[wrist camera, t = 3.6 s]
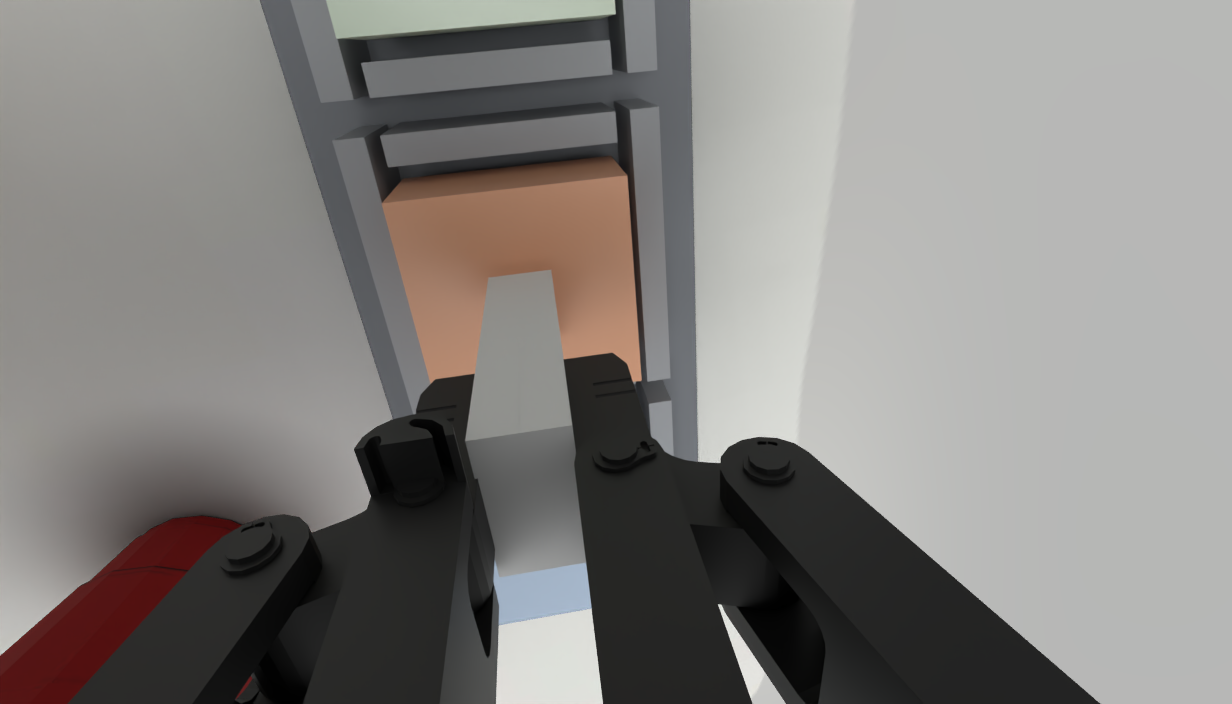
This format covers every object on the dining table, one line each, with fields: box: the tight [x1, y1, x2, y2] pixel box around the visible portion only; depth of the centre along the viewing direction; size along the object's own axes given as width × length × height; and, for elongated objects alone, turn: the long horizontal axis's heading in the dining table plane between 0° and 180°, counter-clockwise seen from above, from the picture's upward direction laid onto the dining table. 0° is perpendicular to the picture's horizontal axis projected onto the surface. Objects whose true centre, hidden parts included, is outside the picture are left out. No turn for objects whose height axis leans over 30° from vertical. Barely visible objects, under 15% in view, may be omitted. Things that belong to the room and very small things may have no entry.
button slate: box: [493, 561, 592, 625], centre depth 21 cm, size 6×6×3 cm
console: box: [260, 0, 698, 462], centre depth 17 cm, size 38×12×4 cm, turn 5°
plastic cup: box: [0, 516, 252, 704], centre depth 20 cm, size 11×11×12 cm
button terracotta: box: [382, 156, 642, 384], centre depth 17 cm, size 6×6×3 cm
